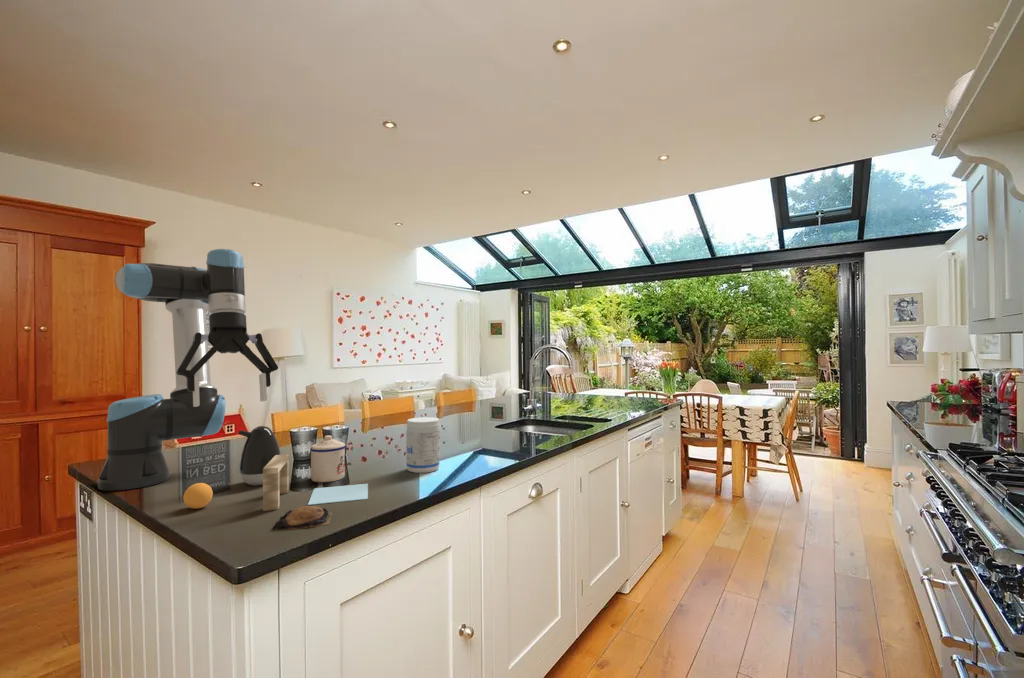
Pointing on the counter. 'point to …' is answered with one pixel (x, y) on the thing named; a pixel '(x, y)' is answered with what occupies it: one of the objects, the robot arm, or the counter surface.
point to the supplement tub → (422, 444)
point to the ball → (198, 495)
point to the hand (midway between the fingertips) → (231, 403)
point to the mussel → (304, 518)
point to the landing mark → (339, 494)
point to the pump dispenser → (257, 454)
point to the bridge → (275, 481)
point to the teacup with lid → (327, 460)
